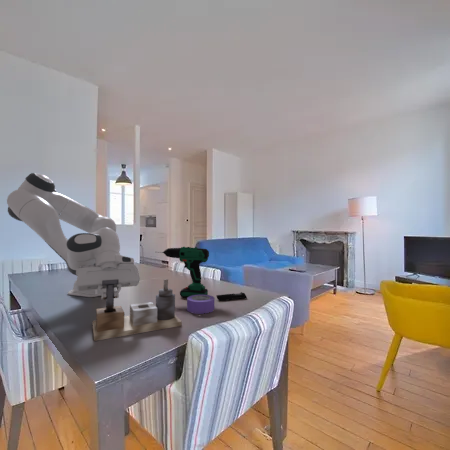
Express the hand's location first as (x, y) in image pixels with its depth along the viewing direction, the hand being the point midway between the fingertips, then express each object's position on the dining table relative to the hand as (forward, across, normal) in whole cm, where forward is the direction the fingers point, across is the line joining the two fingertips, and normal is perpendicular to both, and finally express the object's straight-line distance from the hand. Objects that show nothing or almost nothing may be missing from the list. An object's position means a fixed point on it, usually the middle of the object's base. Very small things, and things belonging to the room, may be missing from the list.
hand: (110, 297), depth 88 cm
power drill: (-14, +34, +30) cm, 48 cm away
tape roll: (+2, +36, +14) cm, 39 cm away
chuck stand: (+7, +9, +8) cm, 14 cm away
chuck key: (+4, 0, +5) cm, 7 cm away
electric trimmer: (-3, +56, +19) cm, 59 cm away
